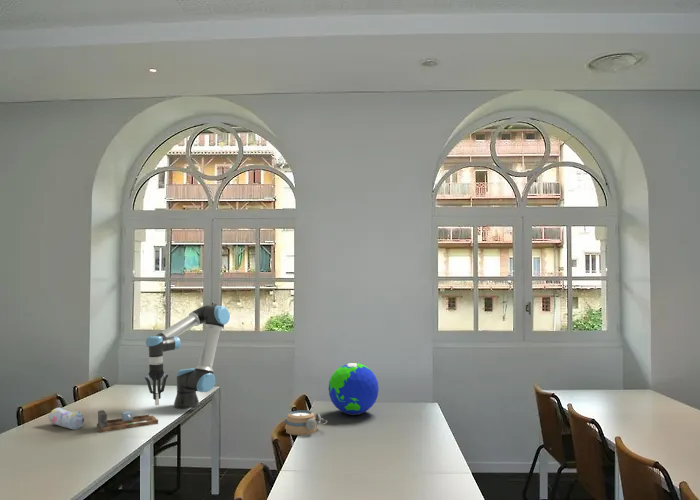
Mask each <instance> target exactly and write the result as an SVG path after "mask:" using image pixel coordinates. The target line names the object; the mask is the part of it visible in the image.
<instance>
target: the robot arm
mask: <svg viewBox="0 0 700 500" xmlns="http://www.w3.org/2000/svg"><path fill="white" fill-rule="evenodd" d="M230 317H231V316H230V312H229V310H228V308H227V307H226V306H224V305H223V306H222V305H212V304H211V305H210V304H208V305H203V306H200V307H198V308H196V309H194V310H193V311H191V312H189V313H188V315H187V316H185V317H184V318H183V319H181V320H179V321H178V322H176V323H174V324H173V325H171V326H169V327H168V328H166V329H164V330H163V331H161V332H159V333H158V334H156V335H150V336H148V337H147V338H146V341H145V345H146V347H148V364H149V366H148V368H149V372H148V375H146V376H144V379H145V381H146V384H147V388H148V392H149V393H150V394H152V397H153V400H154V406H160V400H161V399H162V398H161V396H162V395H161V393H163V392H164V391H165V388H166V382H167V379H168V377H169V375H168V373H165V372H164V352H169V351H175V350H178V349H179V348H180V347H181V345H182V344H181V338H179V336H180V335H182V334H184V333H186V332H187V331H189V330H191V329H193V327H197V326H200V325H203V324H205V327H206V331H205V333H204V334H205V335H204V339H203V342H202V347H201V352H200V354H199V355H200V357H199V360H198V365H197V366H196V367H191V368H184V369H183V368H182V369H179V370H178V371H177V372H176V396H175V400H174V402H173V407H174V408H175V409H181V410H183V409H191V408H196V407H198V406H199V405H200V403H199V402H200V400H199V398H198V394H197V392H200V393H208V392H210V391H211V390H213V388H214V387H215V384H216V378H215V377H216V376H215V375H214V372H215V371H214V369H213V365H214V361H215V355H216V352H217V348H218V342H219V337H220V335H221V330H223V329H224V327H225V325H226V324H227V325H228V323H229V321H230ZM150 379H151V380H152V385H151V382H150ZM161 379H162V382H161Z"/></svg>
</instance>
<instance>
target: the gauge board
mask: <svg viewBox="0 0 700 500" xmlns="http://www.w3.org/2000/svg"><path fill="white" fill-rule="evenodd" d="M152 425H159V419H158V418H156V417H155V416H154V415H150V414H142V415H136V416H134V415H133V420H128V421H122V417H121V418H113V419H109V420H108V413H107V412H106V411H105V410H103V409H101V410H98V411H97V423H96V428H97V430H98V431H100V432H101V433H107V432H113V430H114V431H119V430H120V429H121V430H126V428H127V429H132V428H133V427H134V428H140V427H146V426H152ZM134 428H133V429H134ZM106 431H107V432H106ZM100 432H99V433H100Z"/></svg>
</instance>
